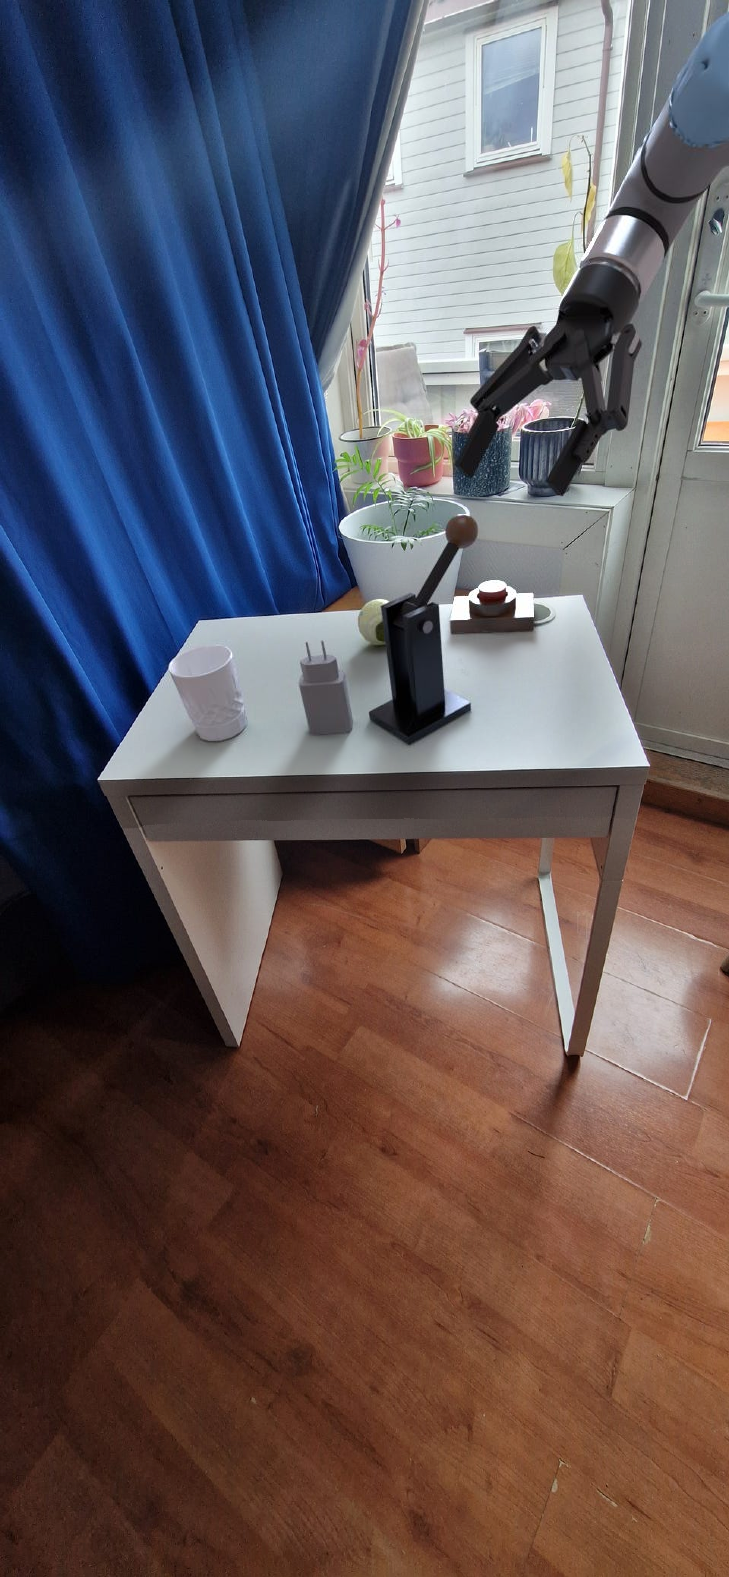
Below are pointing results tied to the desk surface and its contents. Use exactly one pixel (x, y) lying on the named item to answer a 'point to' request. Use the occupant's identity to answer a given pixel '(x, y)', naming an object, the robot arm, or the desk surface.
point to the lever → (442, 561)
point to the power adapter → (325, 695)
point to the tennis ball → (372, 622)
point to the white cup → (210, 691)
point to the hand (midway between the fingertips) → (505, 480)
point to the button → (492, 591)
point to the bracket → (415, 674)
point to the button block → (493, 613)
